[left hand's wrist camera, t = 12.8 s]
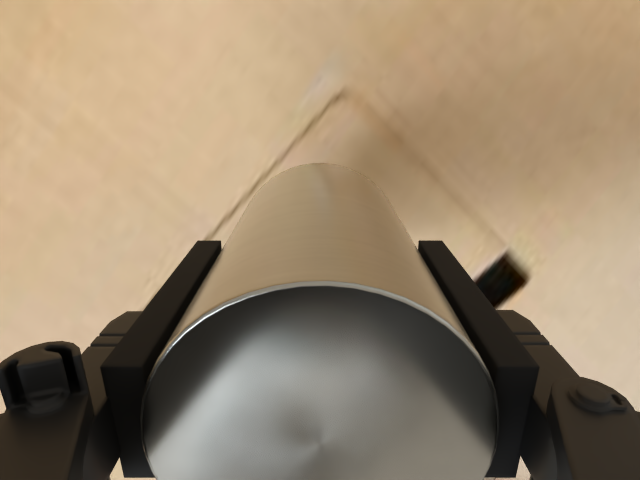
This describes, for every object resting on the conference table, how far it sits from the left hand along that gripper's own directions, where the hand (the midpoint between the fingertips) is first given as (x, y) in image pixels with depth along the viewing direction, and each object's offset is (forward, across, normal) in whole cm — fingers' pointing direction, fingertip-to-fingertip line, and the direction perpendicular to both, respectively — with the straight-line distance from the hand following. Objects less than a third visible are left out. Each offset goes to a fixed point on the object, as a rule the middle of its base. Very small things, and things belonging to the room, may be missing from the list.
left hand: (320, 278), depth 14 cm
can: (+3, 0, 0) cm, 3 cm away
